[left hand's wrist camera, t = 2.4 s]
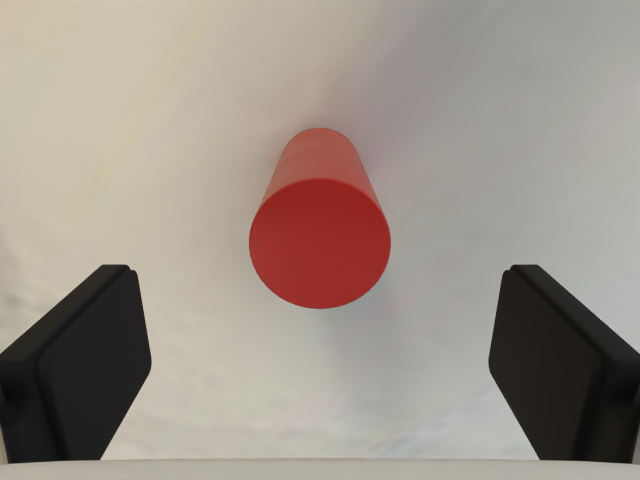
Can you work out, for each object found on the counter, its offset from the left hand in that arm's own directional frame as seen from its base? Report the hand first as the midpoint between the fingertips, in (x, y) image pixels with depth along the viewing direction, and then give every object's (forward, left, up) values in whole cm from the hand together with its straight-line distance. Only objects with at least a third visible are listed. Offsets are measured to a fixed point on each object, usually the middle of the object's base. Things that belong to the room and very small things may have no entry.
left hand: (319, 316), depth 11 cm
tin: (0, 0, -16) cm, 16 cm away
